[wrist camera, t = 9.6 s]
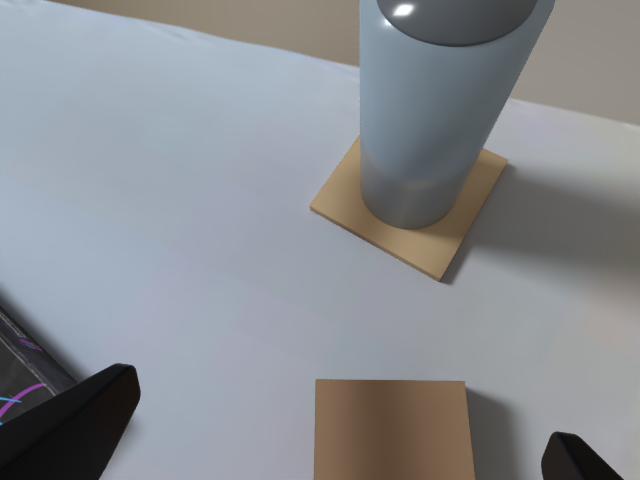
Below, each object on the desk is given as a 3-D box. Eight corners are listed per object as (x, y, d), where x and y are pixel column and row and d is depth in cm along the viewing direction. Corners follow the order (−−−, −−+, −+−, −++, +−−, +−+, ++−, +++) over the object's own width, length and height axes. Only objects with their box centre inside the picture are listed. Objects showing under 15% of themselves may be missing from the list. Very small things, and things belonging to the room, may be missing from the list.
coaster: (505, 164, 25) (508, 159, 25) (438, 281, 23) (440, 279, 22) (381, 108, 28) (381, 103, 27) (310, 209, 25) (309, 205, 25)
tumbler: (479, 185, 24) (601, -26, 12) (409, 249, 23) (465, 90, 11) (407, 127, 26) (447, -104, 14) (340, 184, 25) (321, -12, 13)
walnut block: (450, 382, 21) (464, 381, 18) (461, 490, 19) (478, 506, 17) (321, 380, 22) (315, 379, 19) (320, 484, 20) (313, 500, 17)
